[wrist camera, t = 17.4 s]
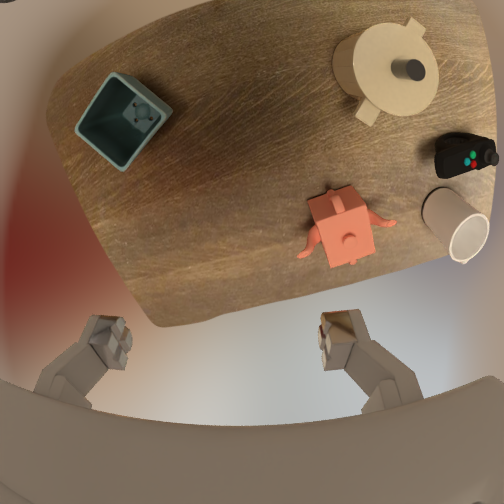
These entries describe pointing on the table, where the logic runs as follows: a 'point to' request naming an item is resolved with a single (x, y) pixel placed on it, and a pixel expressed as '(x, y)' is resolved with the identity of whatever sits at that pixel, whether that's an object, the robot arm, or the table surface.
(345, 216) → the teapot
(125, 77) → the flower pot
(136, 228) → the table surface
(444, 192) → the mug
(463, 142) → the controller
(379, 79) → the lid
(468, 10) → the table surface
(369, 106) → the pot
